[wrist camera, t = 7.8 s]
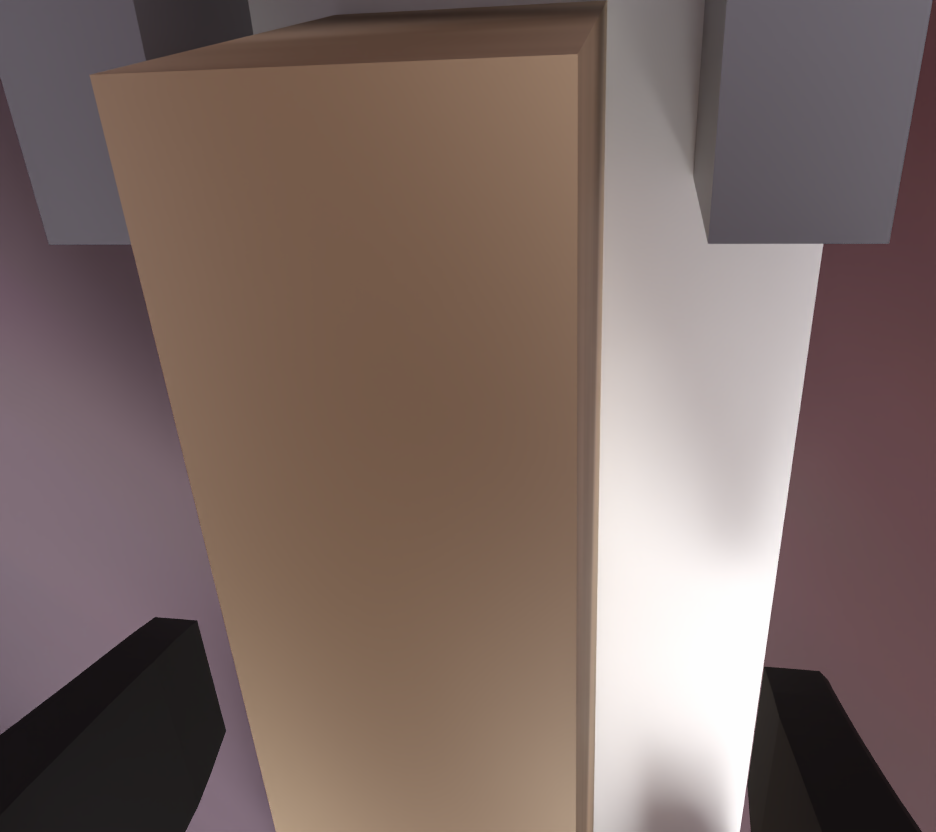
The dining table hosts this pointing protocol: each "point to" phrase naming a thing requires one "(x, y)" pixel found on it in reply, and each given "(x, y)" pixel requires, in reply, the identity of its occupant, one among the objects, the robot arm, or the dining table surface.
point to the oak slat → (389, 394)
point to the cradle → (623, 311)
